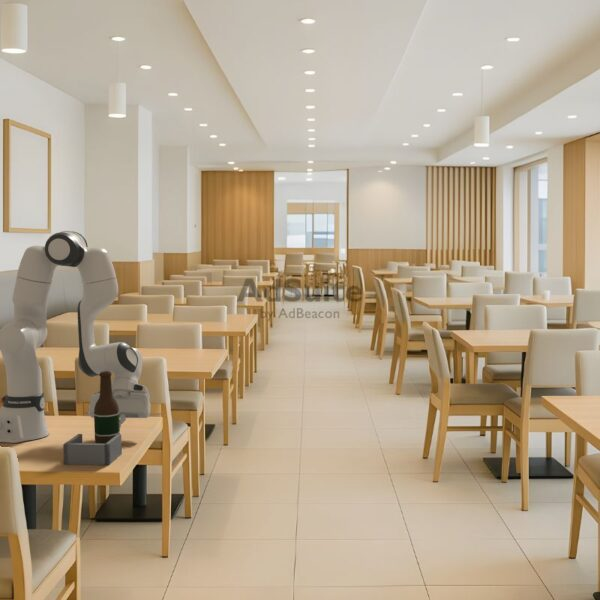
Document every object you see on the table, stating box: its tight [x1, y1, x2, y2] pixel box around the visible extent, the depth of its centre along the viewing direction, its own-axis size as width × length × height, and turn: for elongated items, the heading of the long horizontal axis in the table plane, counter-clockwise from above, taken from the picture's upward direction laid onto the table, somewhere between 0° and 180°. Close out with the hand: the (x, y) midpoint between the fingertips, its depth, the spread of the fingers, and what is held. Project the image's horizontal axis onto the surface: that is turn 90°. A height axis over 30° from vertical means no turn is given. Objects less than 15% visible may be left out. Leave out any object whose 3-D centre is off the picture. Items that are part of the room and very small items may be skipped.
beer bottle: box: [93, 371, 121, 444], centre depth 249 cm, size 8×8×24 cm
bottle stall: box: [62, 433, 123, 466], centre depth 237 cm, size 13×12×6 cm
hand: (115, 427), depth 257 cm, fingers closed
